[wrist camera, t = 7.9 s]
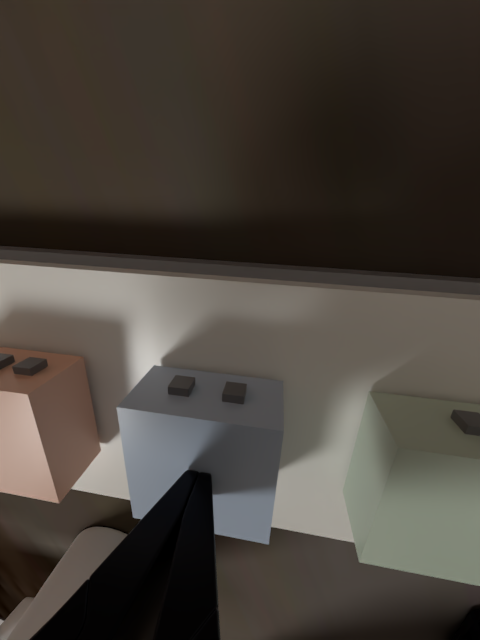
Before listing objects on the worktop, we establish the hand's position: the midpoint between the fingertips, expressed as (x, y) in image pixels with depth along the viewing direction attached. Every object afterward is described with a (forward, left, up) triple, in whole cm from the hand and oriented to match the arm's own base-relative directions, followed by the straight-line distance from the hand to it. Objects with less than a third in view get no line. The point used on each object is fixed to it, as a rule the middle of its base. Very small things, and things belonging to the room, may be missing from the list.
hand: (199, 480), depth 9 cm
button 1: (-8, 0, -3) cm, 8 cm away
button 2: (0, 0, -2) cm, 2 cm away
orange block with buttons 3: (+8, 0, -2) cm, 8 cm away
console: (0, 0, -5) cm, 5 cm away
